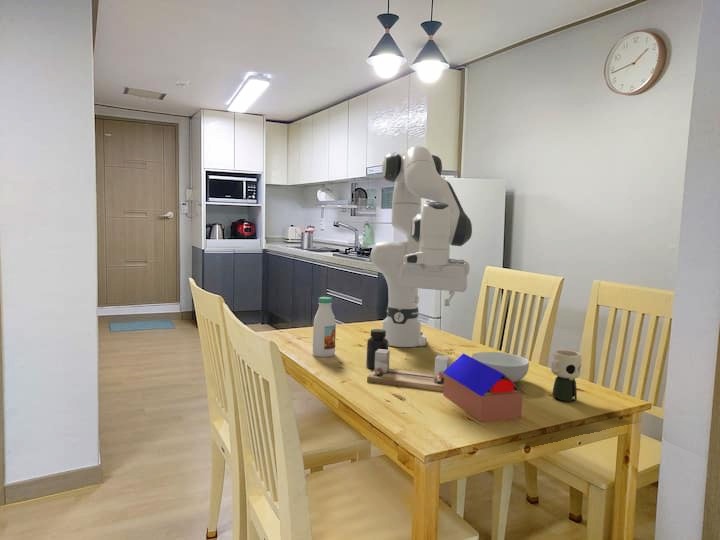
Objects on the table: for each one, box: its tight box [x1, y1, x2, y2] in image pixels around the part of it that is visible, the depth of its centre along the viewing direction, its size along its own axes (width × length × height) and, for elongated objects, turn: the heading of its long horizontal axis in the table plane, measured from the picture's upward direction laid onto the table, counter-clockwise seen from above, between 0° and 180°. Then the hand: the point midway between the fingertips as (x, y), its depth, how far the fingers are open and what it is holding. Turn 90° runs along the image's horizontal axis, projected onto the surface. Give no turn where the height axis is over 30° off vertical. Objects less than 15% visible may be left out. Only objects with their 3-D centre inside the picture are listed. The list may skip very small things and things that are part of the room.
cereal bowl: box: [471, 351, 530, 383], centre depth 161 cm, size 17×17×7 cm
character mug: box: [550, 349, 582, 402], centre depth 146 cm, size 11×7×13 cm, turn 117°
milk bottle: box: [312, 296, 337, 358], centre depth 183 cm, size 8×8×20 cm
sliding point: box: [433, 355, 450, 382], centre depth 155 cm, size 7×4×6 cm, turn 163°
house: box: [443, 353, 524, 423], centre depth 138 cm, size 12×20×12 cm, turn 18°
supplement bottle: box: [365, 328, 389, 370], centre depth 171 cm, size 7×7×12 cm
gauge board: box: [366, 349, 444, 393], centre depth 157 cm, size 11×27×8 cm, turn 73°
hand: (431, 304), depth 158 cm, fingers open, 8 cm apart
